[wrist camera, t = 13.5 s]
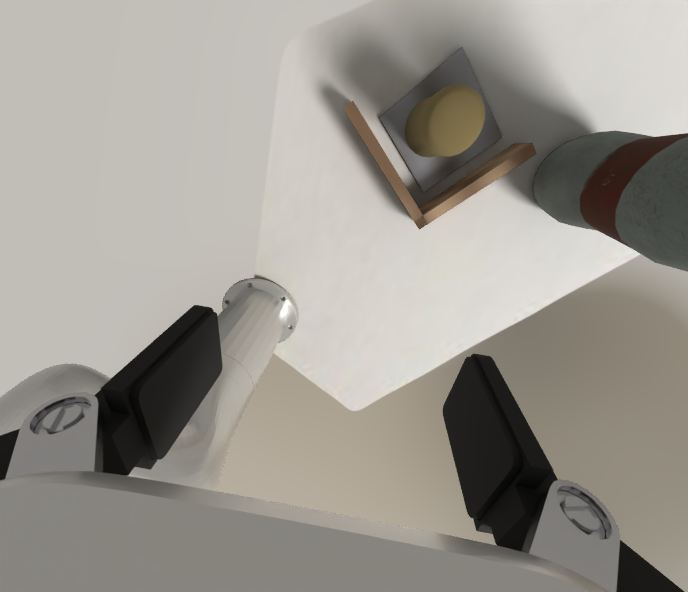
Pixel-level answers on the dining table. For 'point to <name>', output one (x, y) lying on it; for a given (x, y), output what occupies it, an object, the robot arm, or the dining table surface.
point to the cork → (445, 122)
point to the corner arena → (439, 166)
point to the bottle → (622, 190)
